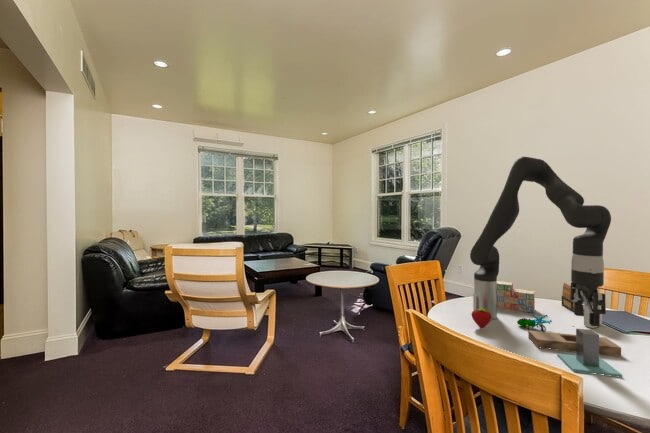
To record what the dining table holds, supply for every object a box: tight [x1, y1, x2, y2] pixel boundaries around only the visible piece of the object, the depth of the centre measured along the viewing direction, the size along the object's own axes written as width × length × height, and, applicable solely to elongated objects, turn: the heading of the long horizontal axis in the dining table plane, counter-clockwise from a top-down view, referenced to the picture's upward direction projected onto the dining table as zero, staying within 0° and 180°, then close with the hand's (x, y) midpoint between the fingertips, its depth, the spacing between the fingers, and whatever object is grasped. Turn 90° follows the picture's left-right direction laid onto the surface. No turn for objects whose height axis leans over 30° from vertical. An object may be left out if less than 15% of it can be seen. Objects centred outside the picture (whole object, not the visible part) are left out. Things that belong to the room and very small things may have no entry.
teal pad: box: [556, 353, 623, 378], centre depth 91 cm, size 12×10×1 cm
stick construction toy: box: [516, 313, 552, 332], centre depth 119 cm, size 12×7×8 cm
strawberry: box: [471, 304, 492, 329], centre depth 121 cm, size 6×8×10 cm
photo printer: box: [583, 302, 603, 329], centre depth 123 cm, size 10×4×12 cm, turn 123°
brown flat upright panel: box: [561, 282, 575, 313], centre depth 144 cm, size 11×2×12 cm, turn 164°
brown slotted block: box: [527, 330, 622, 357], centre depth 104 cm, size 24×8×3 cm, turn 73°
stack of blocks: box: [497, 280, 536, 314], centre depth 147 cm, size 21×6×12 cm, turn 50°
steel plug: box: [575, 328, 600, 367], centre depth 91 cm, size 4×4×10 cm
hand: (586, 320), depth 91 cm, fingers open, 8 cm apart
